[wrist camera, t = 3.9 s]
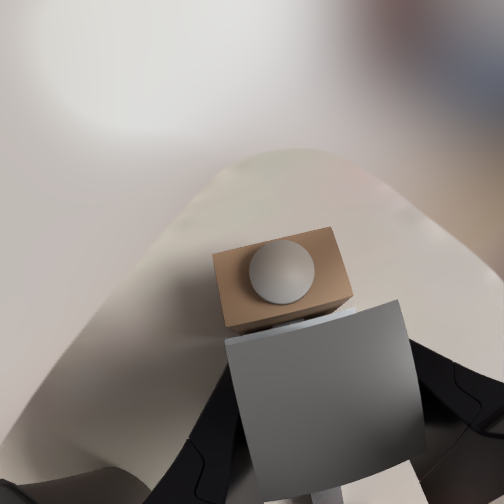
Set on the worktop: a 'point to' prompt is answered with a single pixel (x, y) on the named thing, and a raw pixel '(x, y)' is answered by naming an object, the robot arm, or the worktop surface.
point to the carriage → (327, 400)
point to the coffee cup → (79, 489)
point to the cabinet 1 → (281, 281)
